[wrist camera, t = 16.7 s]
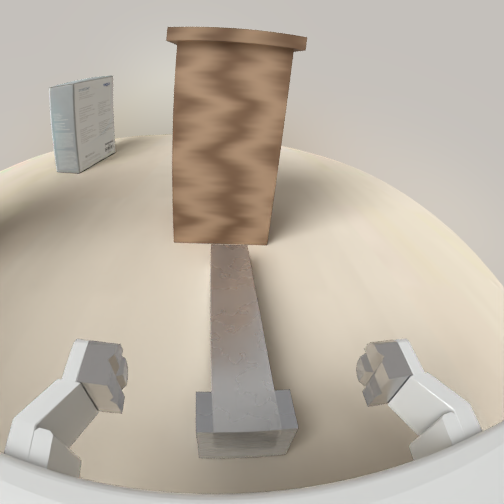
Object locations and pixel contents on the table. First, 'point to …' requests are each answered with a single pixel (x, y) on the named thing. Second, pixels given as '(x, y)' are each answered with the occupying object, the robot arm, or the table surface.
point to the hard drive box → (82, 123)
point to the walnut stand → (228, 131)
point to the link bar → (240, 370)
